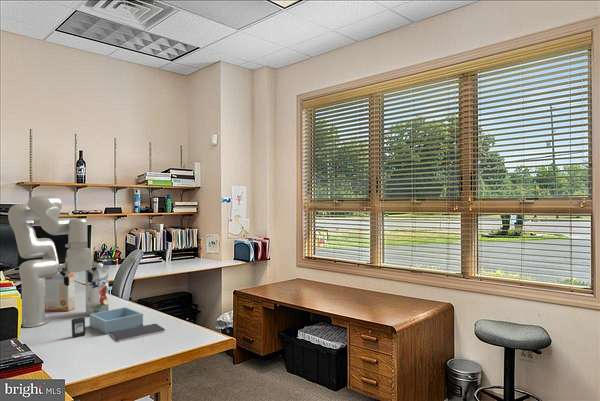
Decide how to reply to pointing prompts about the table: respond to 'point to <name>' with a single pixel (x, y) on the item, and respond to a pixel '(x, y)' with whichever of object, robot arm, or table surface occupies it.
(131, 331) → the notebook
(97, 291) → the juice carton
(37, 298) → the robot arm
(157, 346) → the table surface
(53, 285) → the cracker box
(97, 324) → the bin
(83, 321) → the ink cartridge
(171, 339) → the table surface
